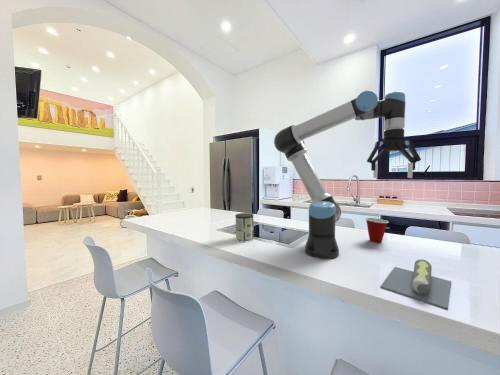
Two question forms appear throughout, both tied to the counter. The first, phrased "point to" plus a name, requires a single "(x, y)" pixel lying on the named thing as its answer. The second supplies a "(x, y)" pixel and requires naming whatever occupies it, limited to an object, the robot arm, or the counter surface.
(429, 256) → the counter surface
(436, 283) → the slate mat
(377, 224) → the plastic cup
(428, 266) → the patterned grey cylinder
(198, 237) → the counter surface
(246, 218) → the coffee can
